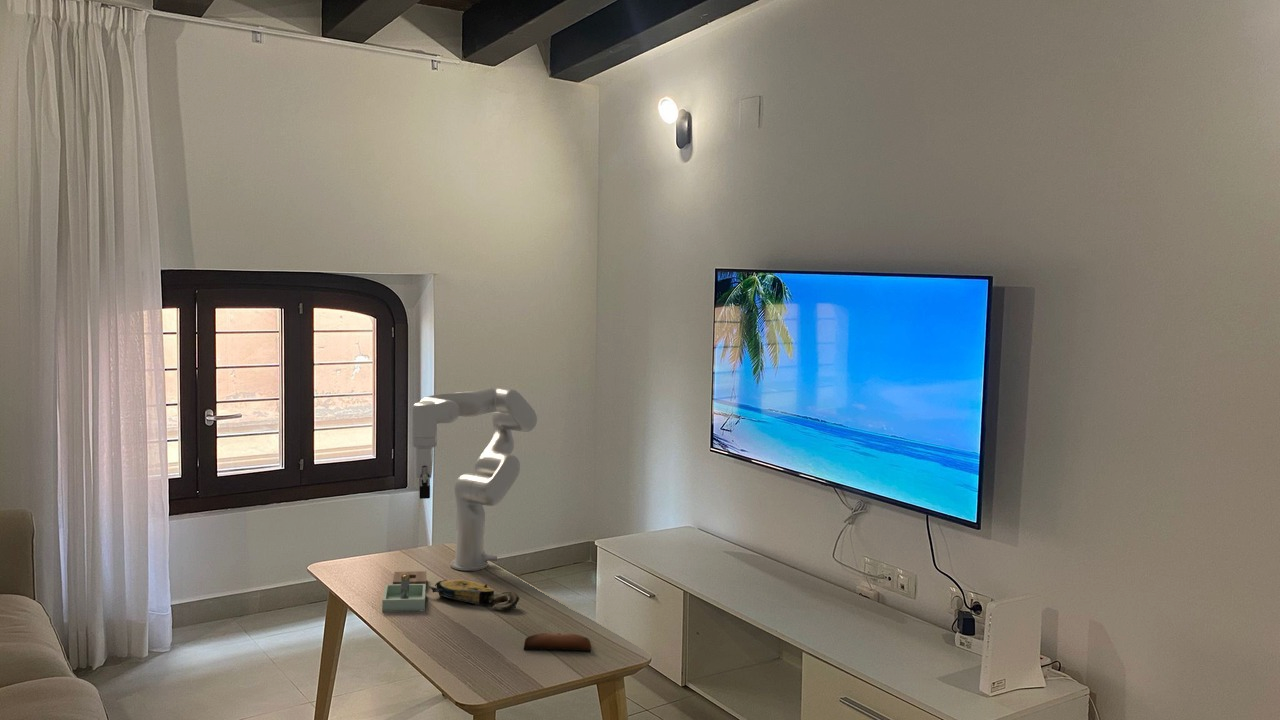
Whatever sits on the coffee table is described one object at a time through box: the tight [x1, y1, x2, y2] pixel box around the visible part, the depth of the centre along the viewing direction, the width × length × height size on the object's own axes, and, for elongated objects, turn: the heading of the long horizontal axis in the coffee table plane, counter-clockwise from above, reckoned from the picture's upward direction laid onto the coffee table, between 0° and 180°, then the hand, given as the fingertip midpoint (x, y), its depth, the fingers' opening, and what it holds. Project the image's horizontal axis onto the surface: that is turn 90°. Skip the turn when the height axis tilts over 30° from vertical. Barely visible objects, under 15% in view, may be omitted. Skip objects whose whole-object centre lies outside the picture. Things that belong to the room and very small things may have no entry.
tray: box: [381, 583, 427, 613], centre depth 285 cm, size 12×14×4 cm
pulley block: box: [426, 578, 521, 612], centre depth 290 cm, size 14×6×30 cm
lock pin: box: [400, 574, 410, 599], centre depth 284 cm, size 2×2×8 cm
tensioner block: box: [392, 570, 427, 585], centre depth 300 cm, size 10×10×3 cm
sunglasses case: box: [523, 632, 592, 653], centre depth 257 cm, size 18×7×7 cm
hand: (424, 494), depth 302 cm, fingers open, 9 cm apart
